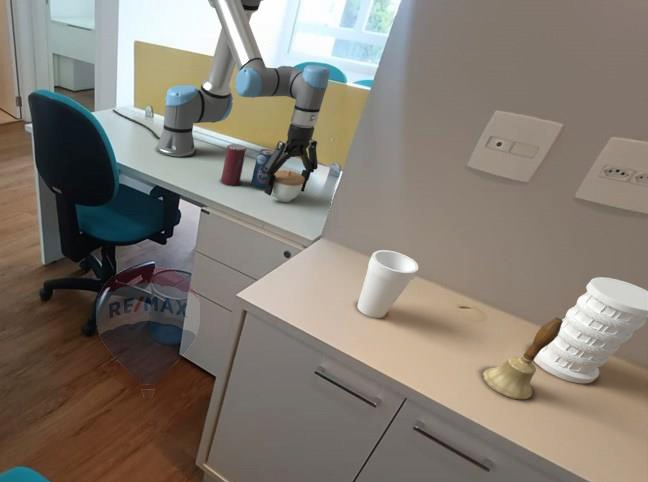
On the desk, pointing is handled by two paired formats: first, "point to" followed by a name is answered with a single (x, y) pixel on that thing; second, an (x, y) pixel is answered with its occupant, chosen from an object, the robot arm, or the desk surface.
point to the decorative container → (595, 329)
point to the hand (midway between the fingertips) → (284, 192)
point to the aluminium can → (233, 164)
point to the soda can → (261, 169)
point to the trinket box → (287, 185)
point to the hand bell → (521, 366)
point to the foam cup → (385, 281)
